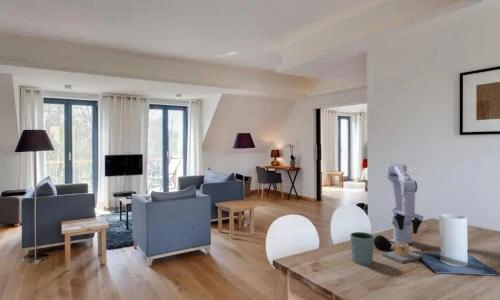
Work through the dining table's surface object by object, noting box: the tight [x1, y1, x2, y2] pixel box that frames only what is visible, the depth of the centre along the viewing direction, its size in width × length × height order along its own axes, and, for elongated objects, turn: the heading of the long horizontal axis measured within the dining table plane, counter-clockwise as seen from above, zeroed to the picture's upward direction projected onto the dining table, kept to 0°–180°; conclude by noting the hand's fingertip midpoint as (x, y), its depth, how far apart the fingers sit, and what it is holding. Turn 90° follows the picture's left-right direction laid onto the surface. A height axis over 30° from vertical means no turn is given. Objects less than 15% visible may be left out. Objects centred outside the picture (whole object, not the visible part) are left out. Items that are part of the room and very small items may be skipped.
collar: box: [395, 242, 410, 257], centre depth 150 cm, size 6×5×5 cm
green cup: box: [349, 231, 375, 266], centre depth 145 cm, size 10×10×12 cm
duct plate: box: [382, 245, 422, 264], centre depth 150 cm, size 14×10×5 cm
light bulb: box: [373, 234, 396, 251], centre depth 160 cm, size 7×7×12 cm
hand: (407, 231), depth 159 cm, fingers open, 7 cm apart
